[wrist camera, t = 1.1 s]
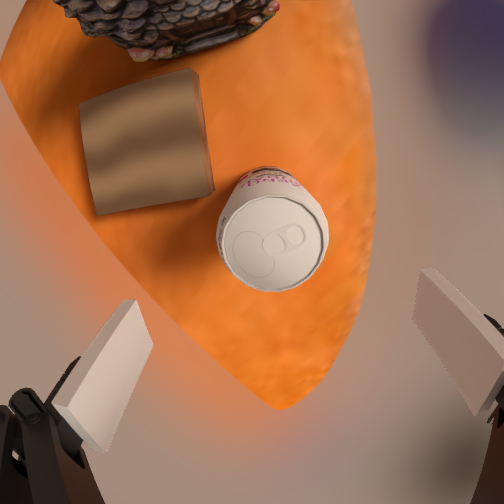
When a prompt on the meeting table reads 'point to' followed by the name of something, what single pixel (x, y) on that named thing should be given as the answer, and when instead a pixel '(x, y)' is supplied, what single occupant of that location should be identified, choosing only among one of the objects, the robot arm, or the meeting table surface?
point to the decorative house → (169, 23)
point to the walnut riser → (147, 143)
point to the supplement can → (271, 231)
